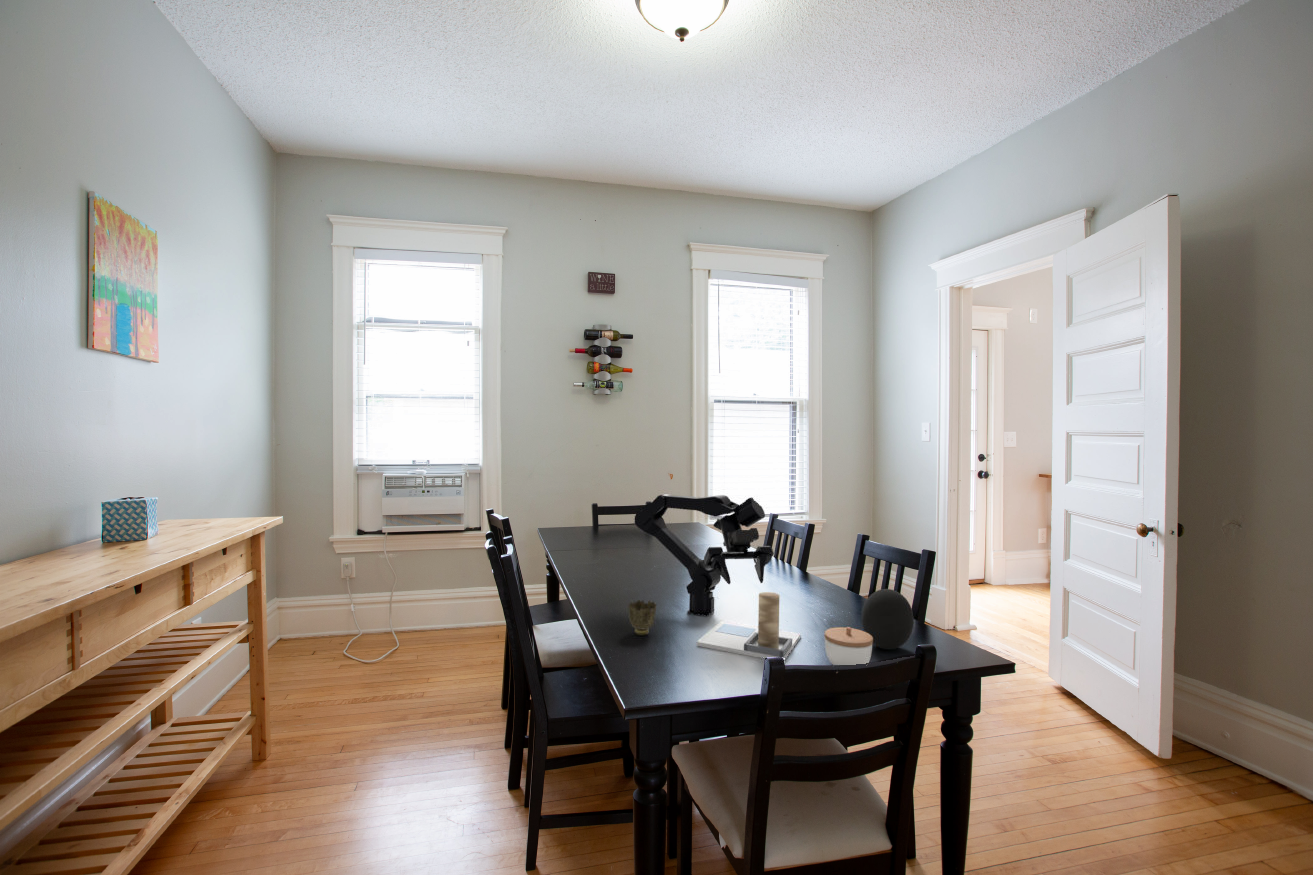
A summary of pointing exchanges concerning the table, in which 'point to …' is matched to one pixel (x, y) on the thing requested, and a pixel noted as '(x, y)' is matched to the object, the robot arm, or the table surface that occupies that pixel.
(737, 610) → the table surface
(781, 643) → the base plate
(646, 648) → the table surface
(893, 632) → the decorative egg
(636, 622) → the cup
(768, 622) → the maple post
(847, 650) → the lidded jar
